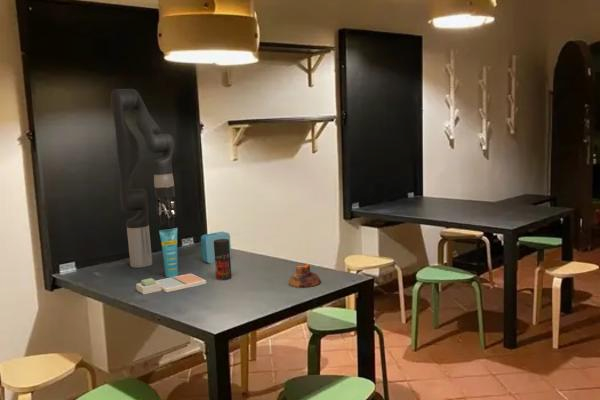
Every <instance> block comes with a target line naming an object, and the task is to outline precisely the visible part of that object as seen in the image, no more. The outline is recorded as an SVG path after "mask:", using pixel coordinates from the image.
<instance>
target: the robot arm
mask: <svg viewBox="0 0 600 400" xmlns="http://www.w3.org/2000/svg"><path fill="white" fill-rule="evenodd" d="M110 104H111V111H112V116H113V122H114V128H115V140H116V154H117V164H118V172H119V173H118V174H119V194H120V197H119V198H120V207H121V209H122V211H123V212H124V213H126V212H127V213H128V212H137V211H138V212H137V213H136V215H134V216H133V217H131V218H129V219H127V220H126V223H125V225H126V233H127V234H126V235H127V241H128V242H127V243H128V254H129V262H130V263H129V266H130V267H131V268H139V269H140V268H146V267H150V266H152V265H153V256H152V247H151V246H152V245H151V236H150V235H151V234H150V223H149V202H148V201H149V199H148V193H147V191H146V189H144V188H134V189H133V188H132V189H130V182H131V179H132V177H133V174H134V172H135V170H136V168H137V166H138V165H139V163H140V160H141V151H140V150H141V149H140V142H139V140H138V138H137V137H136V135H135V134H134V132H133V131H132V130H131V129H130V127H129V125H128V124H127V120H126V119H125V118H126V117H125V112H133V111H134V112H136V115H137V116H136V118H135V124H136V127H137V129H138V131H139V132H140V134H141V135H142V136H143V138H144V141H145V144H146V145H145V146H146V148H147V150H148V151H149V152H150V153H152V154H159V153H162V155H161V157H159V158H156V159H154V160H153V162H152V163H153V164H152V165H153V166H152V167H153V185H154V195H155V198H156V213H157V214H158V215H159V220H160V221H159V222H160V225H161V226H163V225H167V223H168V227H169V229H170V228H171V229H173V228H176V227H175V226H176V223H175V218H176V217H177V216H178V213H177V206H176V201H175V200H174V201H173V200H172V198H174V197H175V196H176V194H175V182H174V176H173V166H172V162H173V155H174V151H175V139H174V137H173V136H172V135H171V134H168V133H161V128H160V127H159V125H158V124H157V123H156V121H155V120H154V119H153V117H152V115H150V113H149V110H148V109H147V106H146V104H145V103H144V101H143V98H142V96H141V95H140V93H139V91H137V90H136V89H133V88H116V89H113V90H112V91H111V94H110ZM167 218H168V220H167ZM167 221H168V222H167Z"/></svg>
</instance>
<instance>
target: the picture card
mask: <svg viewBox="0 0 600 400" xmlns="http://www.w3.org/2000/svg"><path fill="white" fill-rule="evenodd" d="M156 281H157V282H158V283H160V284H161V289H162V291H163V292H166V293H169V292H174V291H178V290H182V289H188V288H192V287H197V286H202V285H205V284H207V280H206V279H204V278H202V277H200V276H197V275H196V274H193V273H187V274H182V275H178V276H176V277H165V278H163V279H158V280H156Z"/></svg>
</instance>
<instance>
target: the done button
mask: <svg viewBox="0 0 600 400" xmlns="http://www.w3.org/2000/svg"><path fill="white" fill-rule="evenodd" d="M140 281H141V282H140V283H141V285H143V286H150V285H154V284H156V282H155V281H156V280H155V279H154V278H152V277H150V278H146V279H145V278H144V279H141V280H140Z"/></svg>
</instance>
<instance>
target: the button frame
mask: <svg viewBox="0 0 600 400" xmlns="http://www.w3.org/2000/svg"><path fill="white" fill-rule="evenodd" d="M155 282H156V284H154V285H150V286H143V285H141V282H139V283H136V284H135V286H136V288H135V289H136V291H137V292H139V293H140V294H142V295H147V294H151V293H152V294H153V293H156V292H161V291H163V290H162V289H161V284H160V283H158V282H157V280H155Z"/></svg>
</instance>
